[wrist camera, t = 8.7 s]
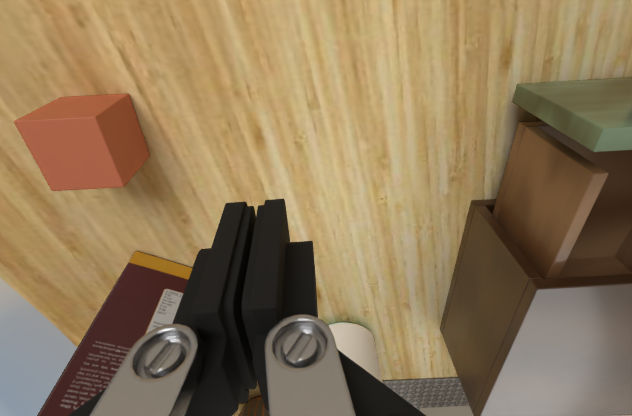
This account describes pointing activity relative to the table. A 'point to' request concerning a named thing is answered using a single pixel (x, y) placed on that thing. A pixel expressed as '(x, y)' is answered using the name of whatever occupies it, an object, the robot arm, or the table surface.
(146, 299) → the supplement box
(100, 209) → the table surface
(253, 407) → the vase
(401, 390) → the model
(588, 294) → the cabinet
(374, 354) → the can
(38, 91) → the table surface
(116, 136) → the block
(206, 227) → the table surface
